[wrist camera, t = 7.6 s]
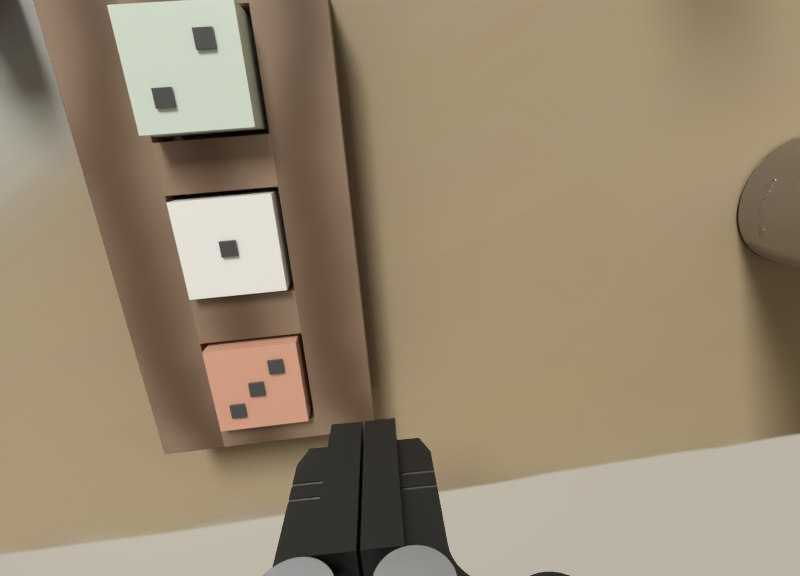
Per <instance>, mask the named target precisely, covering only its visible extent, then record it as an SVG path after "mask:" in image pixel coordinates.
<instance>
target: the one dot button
mask: <svg viewBox="0 0 800 576" xmlns="http://www.w3.org/2000/svg"><path fill="white" fill-rule="evenodd" d="M167 208H168V212H169V216H170V220H171V224H172V229H173V233H174V237H175V241H176V245H177V250H178V254H179V258H180V262H181V266H182V271H183V275H184V279H185V283H186V287H187V292H188V296H189V300H195V299H205V298H215V297H225V296H235V295H245V294H255V293H265V292H275V291H285V290H287V289H288V287H289V285H290V283H291V281H292V279H293V277H292V271H291V265H290V259H289V252H288V246H287V240H286V233H285V227H284V221H283V214H282V208H281V202H280V196H279V189H278V188H273V189H262V190H250V191H238V192H227V193H215V194H203V195H192V196H187V197H183V198H180V199H177V200H174V201H170V202H167Z"/></svg>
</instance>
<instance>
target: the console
mask: <svg viewBox="0 0 800 576" xmlns="http://www.w3.org/2000/svg"><path fill="white" fill-rule="evenodd" d="M33 1H34V5H35V8H36V12H37V15H38V19H39V22H40V26H41V29H42V32H43V36H44V39H45V43H46V46H47V50H48V53H49V57H50V60H51V63H52V67H53V70H54V74H55V77H56V81H57V84H58V88H59V91H60V95H61V98H62V101H63V105H64V108H65V112H66V115H67V119H68V122H69V126H70V129H71V132H72V136H73V139H74V143H75V146H76V150H77V153H78V157H79V160H80V164H81V167H82V170H83V174H84V177H85V181H86V184H87V188H88V191H89V195H90V198H91V201H92V205H93V208H94V212H95V215H96V219H97V222H98V226H99V229H100V232H101V236H102V239H103V243H104V246H105V250H106V253H107V257H108V260H109V264H110V267H111V270H112V274H113V277H114V281H115V284H116V288H117V291H118V295H119V298H120V301H121V305H122V308H123V312H124V315H125V319H126V322H127V326H128V329H129V333H130V336H131V339H132V343H133V346H134V350H135V353H136V357H137V360H138V364H139V367H140V370H141V374H142V377H143V381H144V384H145V388H146V391H147V395H148V398H149V402H150V405H151V408H152V412H153V415H154V419H155V422H156V426H157V429H158V433H159V436H160V439H161V443H162V446H163V450H164V453H165V454H170V453H179V452H187V451H195V450H203V449H212V448H220V447H228V446H237V445H245V444H253V443H261V442H270V441H278V440H286V439H295V438H303V437H311V436H319V435H328V434H330V430H331V425H332V424H341V423H351V422H361V421H362V422H363V426H364V423H365V421H370V420H374V405H373V390H372V381H371V371H370V362H369V353H368V344H367V335H366V326H365V316H364V307H363V298H362V289H361V280H360V271H359V261H358V252H357V243H356V234H355V225H354V215H353V206H352V197H351V188H350V179H349V170H348V160H347V151H346V142H345V133H344V124H343V115H342V105H341V96H340V87H339V78H338V69H337V60H336V50H335V41H334V32H333V23H332V14H331V5H330V0H236V1H237V2H238V3H239V5H240V6H241V7H242V8H243V9H244V11H245V12H246V13H247V14H248V15H249V17H250V18H251V23H252V29H253V35H254V42H255V48H256V54H257V61H258V67H259V73H260V79H261V86H262V92H263V98H264V105H265V111H266V117H267V124H268V129H266V130H253V131H240V132H227V133H214V134H201V135H189V136H176V137H154V136H139V134H138V129H137V125H136V121H135V117H134V113H133V109H132V105H131V101H130V97H129V93H128V89H127V85H126V81H125V77H124V72H123V68H122V64H121V60H120V56H119V52H118V48H117V44H116V40H115V36H114V32H113V28H112V24H111V20H110V15H109V11H108V7H107V5H112V4H129V3H146V2H163V1H180V0H33ZM273 188H278V189H279V196H280V202H281V208H282V214H283V221H284V227H285V233H286V240H287V246H288V252H289V259H290V265H291V271H292V277H293V279H292V281H291V283H290V285H289V287H288V289H287V290H285V291H275V292H265V293H255V294H245V295H235V296H225V297H215V298H205V299H195V300H189V296H188V292H187V287H186V283H185V279H184V275H183V271H182V266H181V262H180V258H179V254H178V250H177V245H176V241H175V237H174V233H173V229H172V224H171V220H170V216H169V212H168V208H167V202H170V201H174V200H177V199H180V198H183V197H187V196H192V195H203V194H215V193H227V192H238V191H250V190H262V189H273ZM297 333H301V334H302V340H303V347H304V353H305V359H306V366H307V372H308V378H309V385H310V391H311V397H312V404H311V410H310V416H309V421H306V422H297V423H289V424H280V425H272V426H264V427H255V428H247V429H238V430H230V431H221V430H220V426H219V422H218V418H217V413H216V409H215V405H214V401H213V397H212V392H211V388H210V384H209V380H208V376H207V371H206V367H205V363H204V359H203V355H202V352H203V351H204V350H205V348H206V347H207V346H208V344H209V343H213V342H222V341H231V340H241V339H250V338H260V337H269V336H279V335H288V334H297Z"/></svg>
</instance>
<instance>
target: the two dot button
mask: <svg viewBox="0 0 800 576" xmlns="http://www.w3.org/2000/svg"><path fill="white" fill-rule="evenodd" d="M107 7H108V11H109V15H110V20H111V24H112V28H113V32H114V36H115V40H116V44H117V48H118V52H119V56H120V60H121V64H122V68H123V72H124V77H125V81H126V85H127V89H128V93H129V97H130V101H131V105H132V109H133V113H134V117H135V121H136V125H137V129H138V134H139V136H154V137H176V136H189V135H201V134H214V133H227V132H240V131H253V130H266V129H268V124H267V117H266V111H265V105H264V98H263V92H262V86H261V79H260V73H259V67H258V61H257V54H256V48H255V42H254V35H253V29H252V23H251V18H250V17H249V15H248V14H247V13H246V12H245V11H244V9H243V8H242V7H241V6H240V5H239V3H238V2H237V1H236V0H180V1H163V2H146V3H129V4H112V5H107Z"/></svg>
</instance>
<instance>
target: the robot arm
mask: <svg viewBox="0 0 800 576" xmlns="http://www.w3.org/2000/svg"><path fill="white" fill-rule="evenodd" d="M738 221H739V228H740V232H741V234H742V237H743V239H744V241H745V243H746V244H747V245H748V247H749V248H750V249H751V250H752V251H754V252H755V253H756V254H758V255H759V256H762V257H764V258H767V259H770V260H773V261H777V262H780V263H784V264H788V265H791V266H795V267H798V268H800V138H799V139H795V140H792V141H790V142H788V143H786V144H784V145H782V146H780V147H778V148H777V149H776V150H775V151H773V152H772V153H771V154H769V155H768V156H767V157H766V158H765V159H764V160H763V161H762V162H761V163H760V164H759V165H758V167H757V168H756V169H755V171H754V172H753V174H752V175H751V177H750V178H749V180H748V182H747V184H746V186H745V188H744V191H743V193H742V196H741V200H740V204H739V214H738ZM263 576H469V575H468V574H467V573H465V572H464V571H463V570H462V569H461V568H460V567H459V566H458V565H457V564H456V562H455V561H454V559H453V558H452V556H451V553H450V551H449V547H448V543H447V538H446V532H445V527H444V521H443V516H442V511H441V505H440V500H439V494H438V489H437V484H436V478H435V473H434V467H433V462H432V457H431V452H430V450H429V449H428V448H427V447H426V446H425V445H424V443H423V442H422V441H421V440H420V439H419V438H414V439H403V440H397V437H396V426H395V418H391V419H381V420H370V421H365V423H364V426H363V422H362V421H361V422H351V423H341V424H332V425H331V430H330V437H329V444H328V447H323V448H313V449H309V451H308V452H307V453H306V455H305V456H304V457H303V458H302V460H301V461H300V462H299V463H298V465H297V468H296V472H295V476H294V480H293V487H292V489H291V493H290V497H289V503H288V506H287V510H286V514H285V518H284V522H283V526H282V531H281V535H280V539H279V543H278V547H277V551H276V556H275V560H274V564H273V567H272V568H271V569H270V570H268V571H267V572H266V573H265V574H264V575H263ZM531 576H569V575H566V574H562V573H557V572H542V573H537V574H534V575H531Z"/></svg>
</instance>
